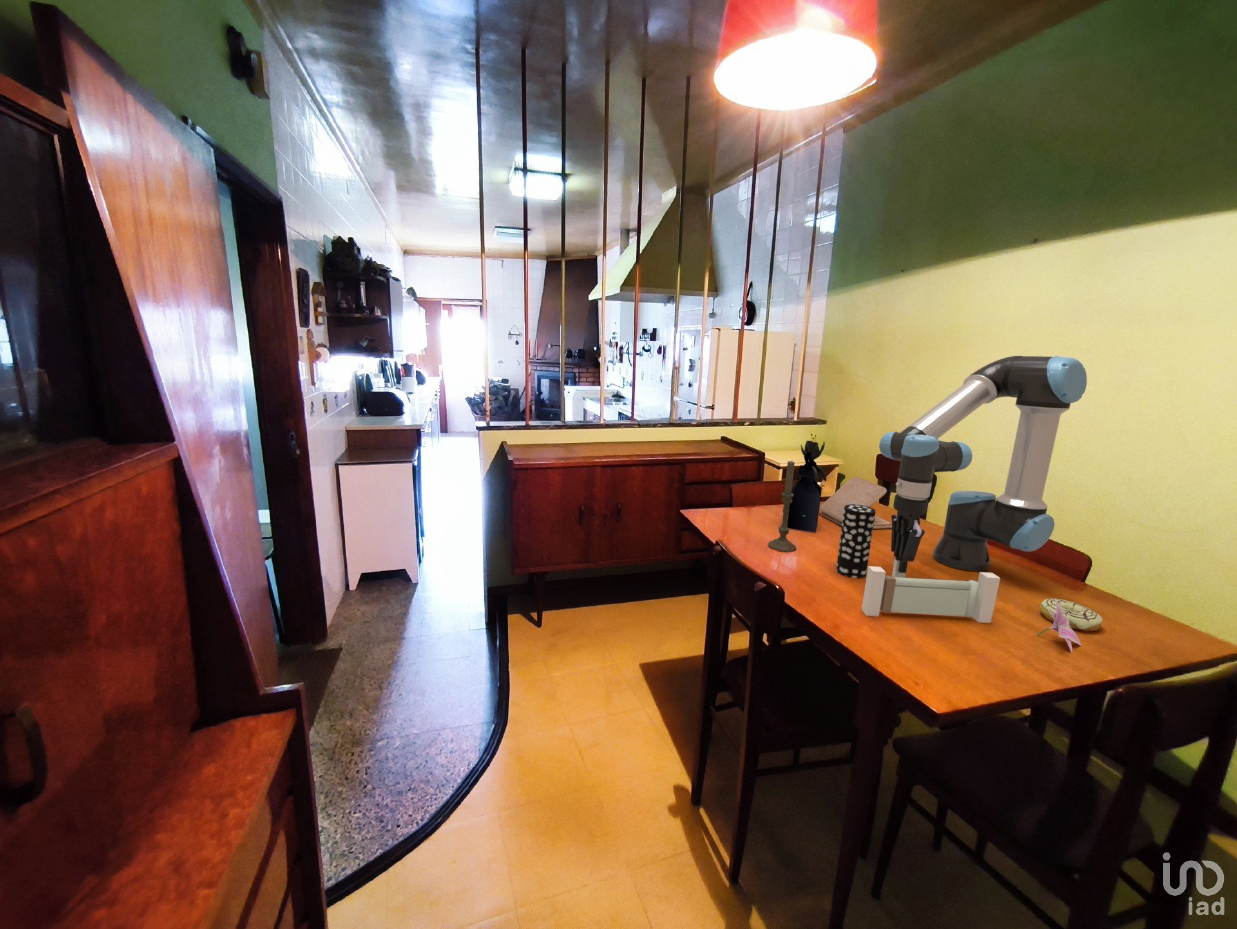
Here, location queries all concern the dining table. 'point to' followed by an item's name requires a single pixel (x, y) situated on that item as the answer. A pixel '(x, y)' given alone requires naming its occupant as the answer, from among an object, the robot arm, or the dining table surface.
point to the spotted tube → (855, 540)
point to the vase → (807, 491)
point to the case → (854, 500)
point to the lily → (1062, 626)
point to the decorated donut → (1073, 614)
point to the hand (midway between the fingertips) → (897, 581)
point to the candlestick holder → (785, 515)
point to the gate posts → (982, 604)
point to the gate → (928, 596)
